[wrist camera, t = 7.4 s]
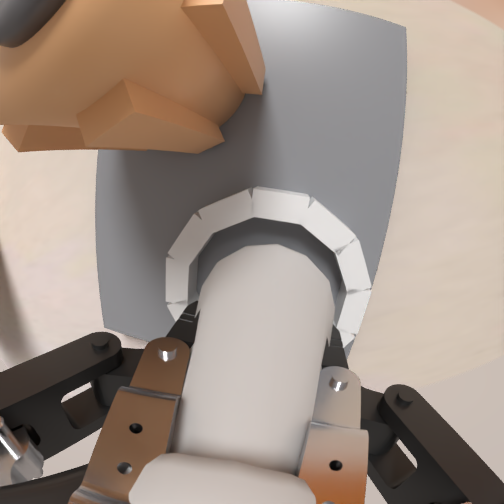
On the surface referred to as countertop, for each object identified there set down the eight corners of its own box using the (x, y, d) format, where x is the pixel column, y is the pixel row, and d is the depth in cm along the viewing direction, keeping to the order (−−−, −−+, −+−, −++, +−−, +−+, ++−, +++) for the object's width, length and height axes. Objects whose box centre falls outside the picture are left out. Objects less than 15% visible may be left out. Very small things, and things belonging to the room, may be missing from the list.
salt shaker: (349, 292, 14) (428, 566, 1) (267, 352, 15) (224, 586, 3) (272, 206, 13) (121, 564, 1) (192, 281, 15) (27, 501, 2)
